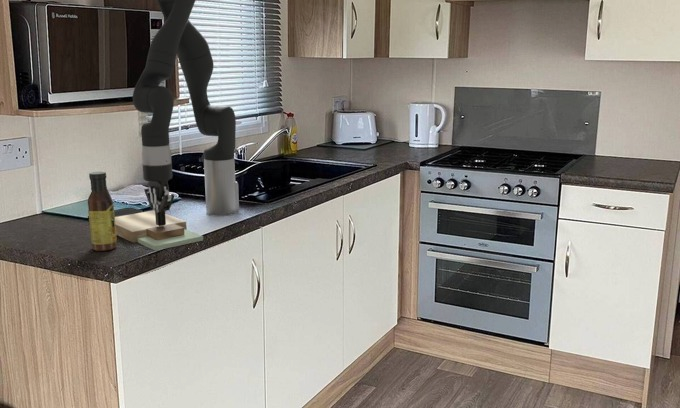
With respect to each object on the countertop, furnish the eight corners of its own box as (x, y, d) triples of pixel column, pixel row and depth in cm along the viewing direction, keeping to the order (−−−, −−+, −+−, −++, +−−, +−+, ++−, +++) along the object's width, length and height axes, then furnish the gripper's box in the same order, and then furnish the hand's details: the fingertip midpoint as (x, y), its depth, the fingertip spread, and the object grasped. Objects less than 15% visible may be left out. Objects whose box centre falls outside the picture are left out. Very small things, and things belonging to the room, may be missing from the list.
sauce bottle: (119, 249, 176) (113, 173, 171) (94, 253, 173) (87, 176, 168) (114, 243, 181) (108, 169, 177) (89, 246, 178) (82, 171, 174)
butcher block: (156, 219, 205) (155, 210, 205) (186, 231, 192) (186, 221, 192) (104, 229, 195) (103, 219, 194) (133, 242, 182) (132, 231, 181)
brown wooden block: (173, 230, 189) (173, 223, 189) (184, 234, 185) (184, 227, 184) (146, 235, 184) (146, 228, 183) (157, 240, 180) (156, 233, 179)
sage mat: (184, 232, 191) (184, 228, 191) (203, 240, 184) (203, 236, 184) (137, 242, 182) (137, 238, 182) (155, 250, 175) (155, 246, 175)
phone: (143, 210, 213) (100, 220, 202) (143, 214, 213) (100, 223, 202) (129, 207, 218) (85, 215, 207) (129, 210, 218) (86, 219, 207)
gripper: (182, 163, 179) (185, 227, 183) (158, 157, 189) (162, 218, 193) (155, 166, 174) (159, 232, 178) (132, 160, 184) (137, 222, 188)
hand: (160, 224), depth 186 cm, fingers closed
